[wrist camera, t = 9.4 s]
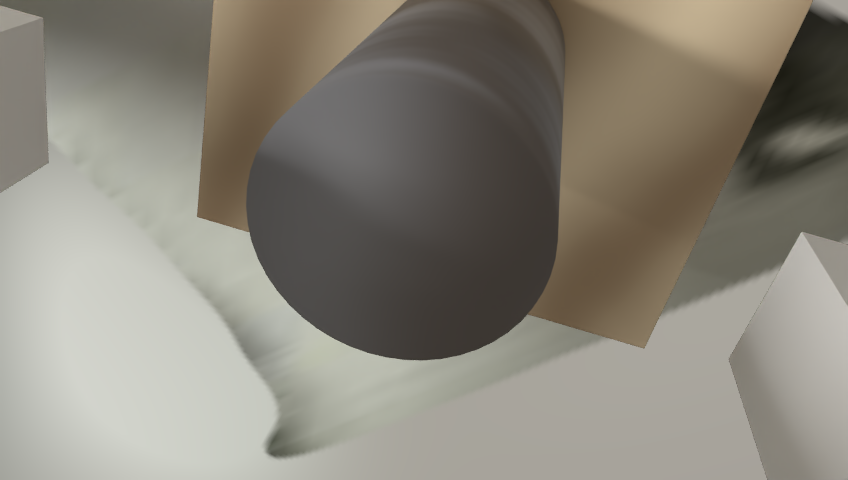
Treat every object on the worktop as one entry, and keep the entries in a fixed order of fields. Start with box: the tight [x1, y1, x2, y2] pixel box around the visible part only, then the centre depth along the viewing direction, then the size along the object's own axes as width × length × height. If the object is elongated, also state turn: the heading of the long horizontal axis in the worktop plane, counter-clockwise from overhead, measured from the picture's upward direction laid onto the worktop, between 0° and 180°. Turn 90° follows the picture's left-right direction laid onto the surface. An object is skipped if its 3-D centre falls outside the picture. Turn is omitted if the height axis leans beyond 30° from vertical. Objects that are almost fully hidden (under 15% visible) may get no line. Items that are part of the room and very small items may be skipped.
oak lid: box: [197, 0, 813, 360], centre depth 17 cm, size 16×16×12 cm
